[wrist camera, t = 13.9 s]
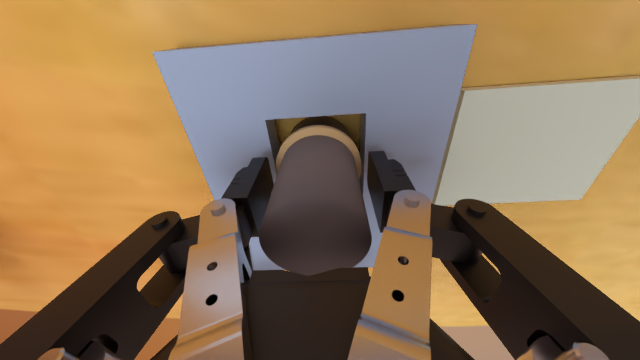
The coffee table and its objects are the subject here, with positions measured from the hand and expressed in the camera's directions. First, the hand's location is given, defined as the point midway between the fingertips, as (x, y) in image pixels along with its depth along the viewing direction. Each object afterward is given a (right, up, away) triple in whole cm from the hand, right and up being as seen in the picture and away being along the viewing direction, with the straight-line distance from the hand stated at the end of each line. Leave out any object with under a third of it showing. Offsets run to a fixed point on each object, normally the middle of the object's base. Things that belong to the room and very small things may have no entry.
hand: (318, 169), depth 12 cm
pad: (+13, +1, +2) cm, 13 cm away
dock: (0, 0, +4) cm, 4 cm away
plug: (0, +2, +2) cm, 3 cm away
